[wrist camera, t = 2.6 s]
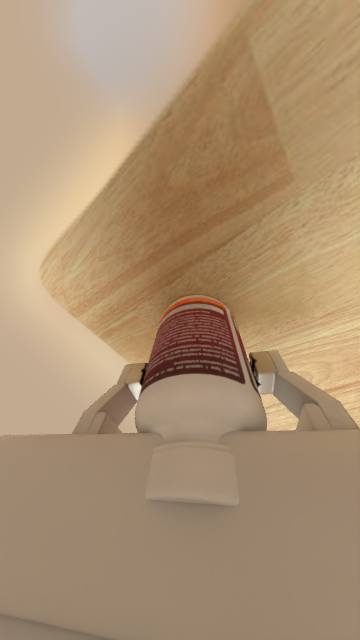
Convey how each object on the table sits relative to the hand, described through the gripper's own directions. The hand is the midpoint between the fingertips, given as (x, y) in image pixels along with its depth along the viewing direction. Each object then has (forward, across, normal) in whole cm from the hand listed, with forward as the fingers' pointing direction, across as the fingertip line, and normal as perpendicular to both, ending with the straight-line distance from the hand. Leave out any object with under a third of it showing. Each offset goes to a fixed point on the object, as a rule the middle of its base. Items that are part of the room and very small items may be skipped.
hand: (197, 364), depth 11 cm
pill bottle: (+5, 0, 0) cm, 5 cm away
